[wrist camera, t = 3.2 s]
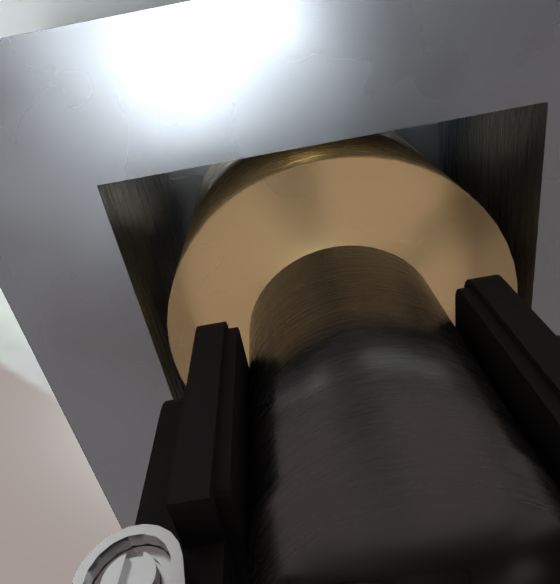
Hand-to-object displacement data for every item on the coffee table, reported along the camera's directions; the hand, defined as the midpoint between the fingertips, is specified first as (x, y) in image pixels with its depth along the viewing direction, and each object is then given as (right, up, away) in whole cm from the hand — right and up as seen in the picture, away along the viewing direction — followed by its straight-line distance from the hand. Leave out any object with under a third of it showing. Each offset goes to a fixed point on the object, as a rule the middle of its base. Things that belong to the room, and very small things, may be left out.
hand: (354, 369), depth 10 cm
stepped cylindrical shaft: (0, +3, +6) cm, 7 cm away
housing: (0, +4, +7) cm, 8 cm away
